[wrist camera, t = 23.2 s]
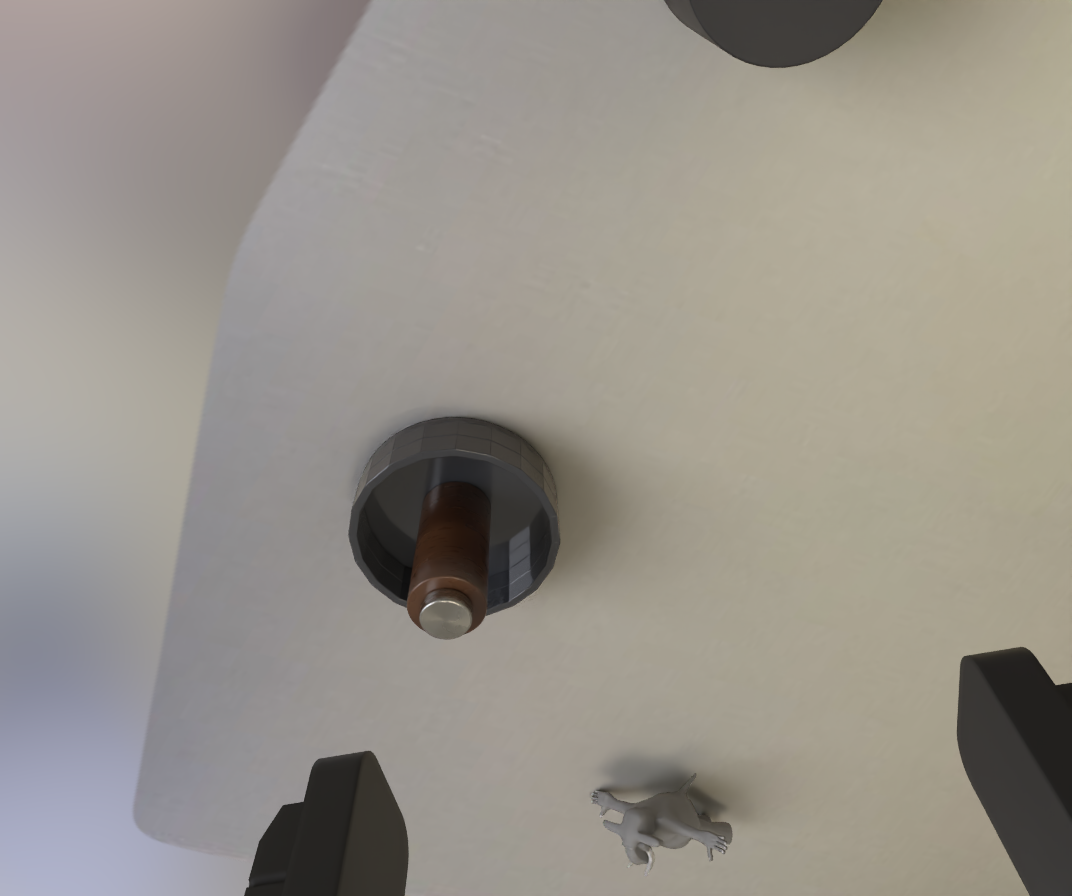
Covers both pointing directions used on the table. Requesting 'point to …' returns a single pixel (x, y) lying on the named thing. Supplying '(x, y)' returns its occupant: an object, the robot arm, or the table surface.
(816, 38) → the stand
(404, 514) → the pan
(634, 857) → the grey creature figurine
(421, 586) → the pepper mill
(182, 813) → the table surface
